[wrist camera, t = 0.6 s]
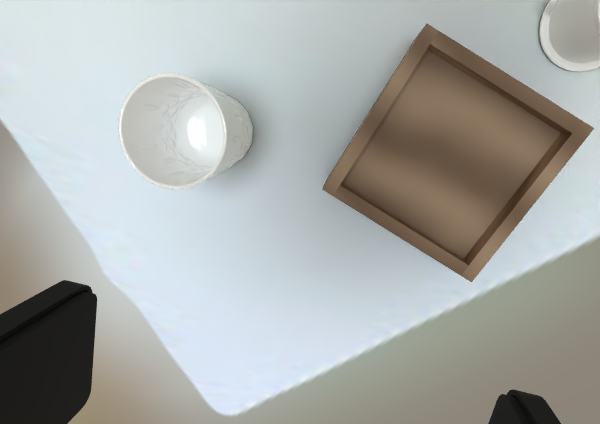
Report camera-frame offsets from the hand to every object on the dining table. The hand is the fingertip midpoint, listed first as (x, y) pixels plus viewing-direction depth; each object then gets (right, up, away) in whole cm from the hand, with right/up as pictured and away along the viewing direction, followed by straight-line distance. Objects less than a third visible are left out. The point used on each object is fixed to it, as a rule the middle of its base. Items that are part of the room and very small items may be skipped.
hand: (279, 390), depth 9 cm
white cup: (-7, +12, +28) cm, 31 cm away
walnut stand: (+12, +9, +26) cm, 30 cm away
